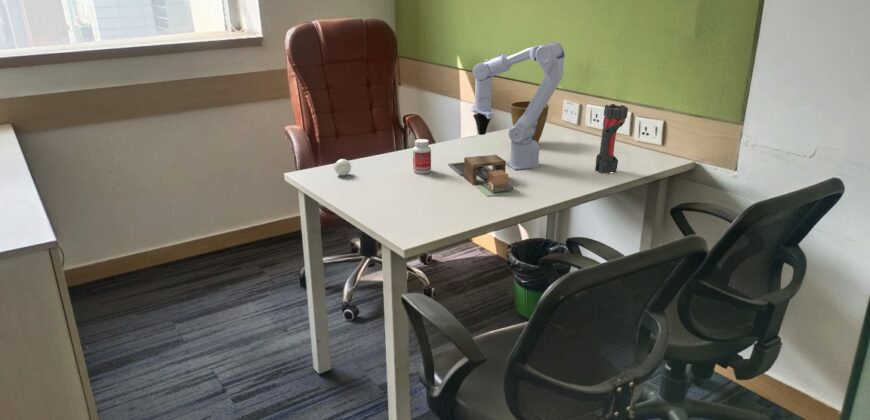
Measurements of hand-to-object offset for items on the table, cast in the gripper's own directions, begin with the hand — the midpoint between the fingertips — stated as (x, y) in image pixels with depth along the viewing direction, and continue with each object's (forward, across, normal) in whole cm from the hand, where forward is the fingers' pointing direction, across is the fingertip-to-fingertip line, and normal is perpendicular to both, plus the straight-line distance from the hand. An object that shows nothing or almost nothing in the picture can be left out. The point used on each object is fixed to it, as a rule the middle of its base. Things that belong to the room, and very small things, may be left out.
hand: (482, 134), depth 234 cm
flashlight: (+10, +28, +36) cm, 47 cm away
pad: (+9, +32, -8) cm, 35 cm away
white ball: (+10, +1, -52) cm, 53 cm away
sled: (+8, +24, -8) cm, 27 cm away
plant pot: (+10, -13, +25) cm, 30 cm away
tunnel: (+9, +22, -8) cm, 25 cm away
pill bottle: (+10, +7, -25) cm, 28 cm away
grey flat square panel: (+9, +10, -8) cm, 16 cm away
